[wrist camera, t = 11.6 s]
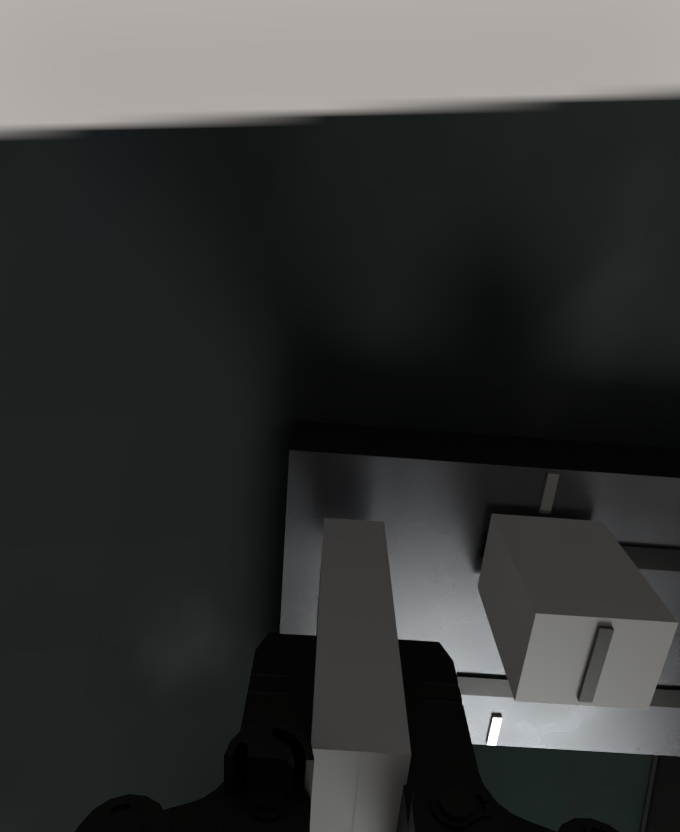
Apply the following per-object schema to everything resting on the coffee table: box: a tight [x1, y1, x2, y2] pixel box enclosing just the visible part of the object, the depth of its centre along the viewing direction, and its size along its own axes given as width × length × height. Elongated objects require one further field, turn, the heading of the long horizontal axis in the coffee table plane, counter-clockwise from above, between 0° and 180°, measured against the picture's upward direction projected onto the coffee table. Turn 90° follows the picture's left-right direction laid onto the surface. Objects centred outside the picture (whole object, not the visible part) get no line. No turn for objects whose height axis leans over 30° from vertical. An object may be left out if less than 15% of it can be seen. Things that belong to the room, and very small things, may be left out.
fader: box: [477, 514, 678, 709], centre depth 15 cm, size 3×2×4 cm
